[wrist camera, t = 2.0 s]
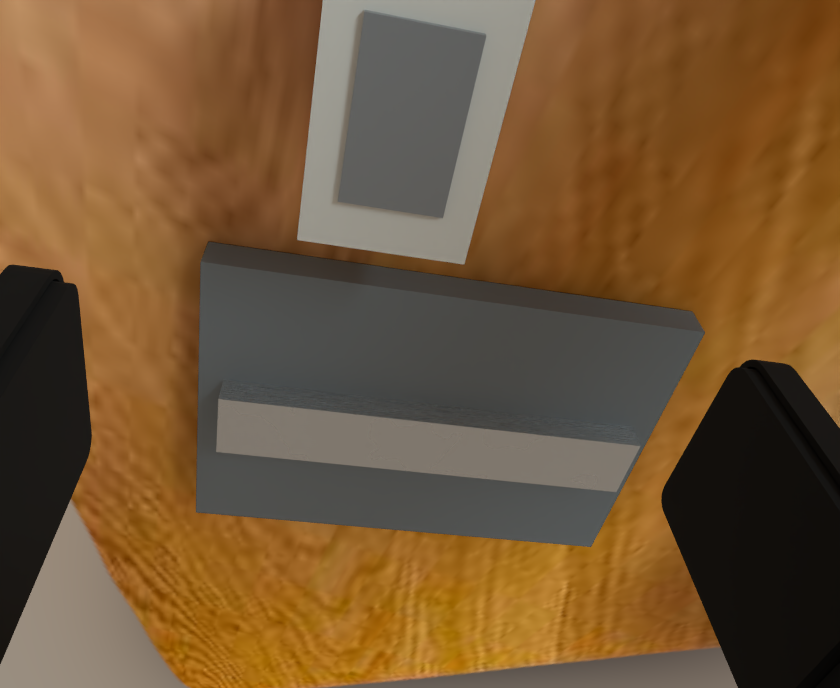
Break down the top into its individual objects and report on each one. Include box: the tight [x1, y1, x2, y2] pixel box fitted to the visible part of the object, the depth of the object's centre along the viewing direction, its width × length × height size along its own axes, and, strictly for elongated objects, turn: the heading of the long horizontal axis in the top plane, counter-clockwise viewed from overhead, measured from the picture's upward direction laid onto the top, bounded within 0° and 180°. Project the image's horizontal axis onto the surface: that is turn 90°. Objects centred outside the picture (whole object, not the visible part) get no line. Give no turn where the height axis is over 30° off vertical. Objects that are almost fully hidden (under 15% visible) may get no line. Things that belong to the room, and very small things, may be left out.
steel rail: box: [216, 380, 640, 492], centre depth 31 cm, size 18×3×1 cm, turn 79°
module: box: [297, 0, 535, 265], centre depth 21 cm, size 5×8×6 cm, turn 169°
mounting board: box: [196, 242, 705, 547], centre depth 33 cm, size 20×14×2 cm
